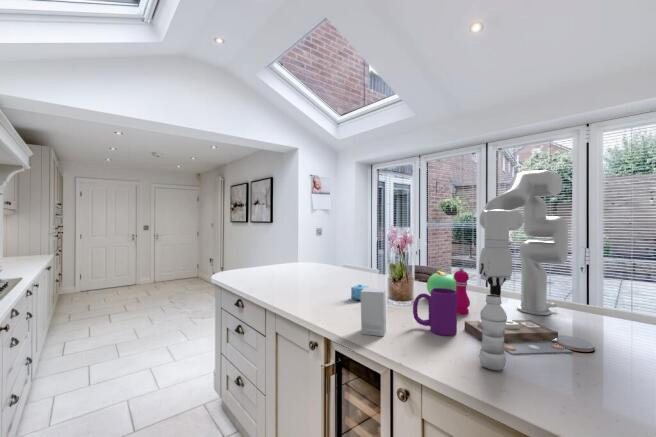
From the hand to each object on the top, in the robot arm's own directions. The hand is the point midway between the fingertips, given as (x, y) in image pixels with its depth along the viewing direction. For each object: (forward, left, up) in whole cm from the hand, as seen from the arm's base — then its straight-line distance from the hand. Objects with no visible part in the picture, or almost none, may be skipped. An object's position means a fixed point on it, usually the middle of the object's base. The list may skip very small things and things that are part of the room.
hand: (495, 296), depth 110 cm
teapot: (+40, -49, -14) cm, 65 cm away
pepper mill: (-2, -26, -14) cm, 30 cm away
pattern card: (-6, +12, -14) cm, 19 cm away
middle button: (-5, 0, -12) cm, 14 cm away
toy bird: (-4, -46, -14) cm, 49 cm away
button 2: (-14, 0, -14) cm, 19 cm away
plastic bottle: (+15, +23, -14) cm, 31 cm away
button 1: (+3, 0, -12) cm, 13 cm away
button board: (-5, 0, -14) cm, 15 cm away
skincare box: (+43, -5, -14) cm, 45 cm away
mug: (+19, -6, -14) cm, 25 cm away
